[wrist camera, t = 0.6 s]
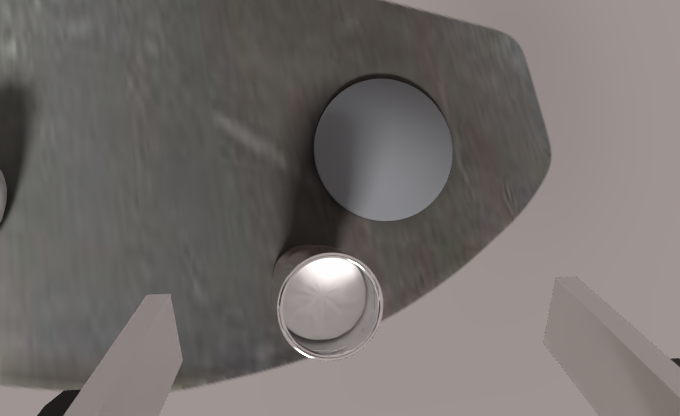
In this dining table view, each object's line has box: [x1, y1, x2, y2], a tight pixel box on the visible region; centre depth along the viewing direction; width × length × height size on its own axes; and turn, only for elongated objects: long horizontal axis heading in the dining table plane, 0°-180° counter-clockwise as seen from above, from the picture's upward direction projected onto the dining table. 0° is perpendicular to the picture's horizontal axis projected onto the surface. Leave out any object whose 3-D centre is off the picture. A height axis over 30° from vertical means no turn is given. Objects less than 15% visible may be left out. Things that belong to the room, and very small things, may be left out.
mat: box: [314, 79, 452, 221], centre depth 42 cm, size 14×14×1 cm
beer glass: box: [271, 245, 383, 361], centre depth 33 cm, size 7×7×15 cm
